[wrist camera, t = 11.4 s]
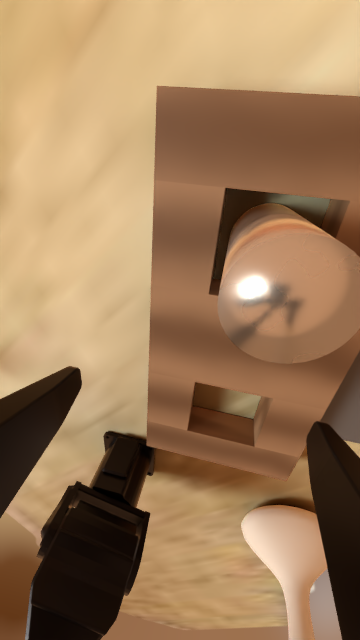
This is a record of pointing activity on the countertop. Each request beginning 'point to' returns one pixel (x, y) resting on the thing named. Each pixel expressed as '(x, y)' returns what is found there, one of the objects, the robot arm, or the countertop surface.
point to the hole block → (202, 290)
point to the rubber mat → (346, 405)
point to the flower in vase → (289, 557)
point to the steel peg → (287, 287)
